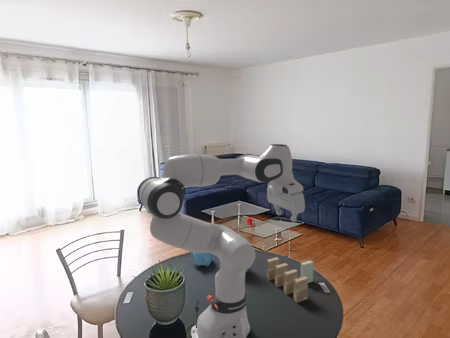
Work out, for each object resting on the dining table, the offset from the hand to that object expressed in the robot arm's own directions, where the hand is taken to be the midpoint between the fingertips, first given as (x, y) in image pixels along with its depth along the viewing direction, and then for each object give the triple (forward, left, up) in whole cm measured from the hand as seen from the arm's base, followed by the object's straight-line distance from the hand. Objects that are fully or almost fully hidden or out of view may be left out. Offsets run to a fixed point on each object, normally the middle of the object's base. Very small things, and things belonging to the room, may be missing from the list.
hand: (286, 217), depth 123 cm
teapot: (-16, +54, -40) cm, 69 cm away
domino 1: (+9, +22, -39) cm, 46 cm away
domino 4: (+9, +1, -39) cm, 40 cm away
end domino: (+21, +11, -39) cm, 46 cm away
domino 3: (+9, +8, -39) cm, 41 cm away
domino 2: (+9, +15, -39) cm, 43 cm away
